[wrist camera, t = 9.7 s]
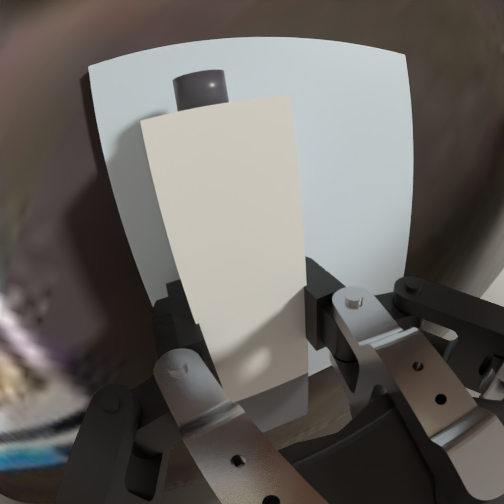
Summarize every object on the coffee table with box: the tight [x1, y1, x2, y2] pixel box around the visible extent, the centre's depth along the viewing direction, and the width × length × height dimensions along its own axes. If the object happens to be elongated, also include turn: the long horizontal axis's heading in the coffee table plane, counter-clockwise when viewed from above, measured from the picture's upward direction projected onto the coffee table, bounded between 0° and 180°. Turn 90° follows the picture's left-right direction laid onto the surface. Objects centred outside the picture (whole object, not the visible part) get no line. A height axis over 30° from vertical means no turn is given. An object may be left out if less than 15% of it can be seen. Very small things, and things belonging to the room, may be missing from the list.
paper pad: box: [88, 37, 413, 376], centre depth 12 cm, size 14×18×1 cm
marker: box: [140, 70, 308, 433], centre depth 10 cm, size 14×3×3 cm, turn 9°
